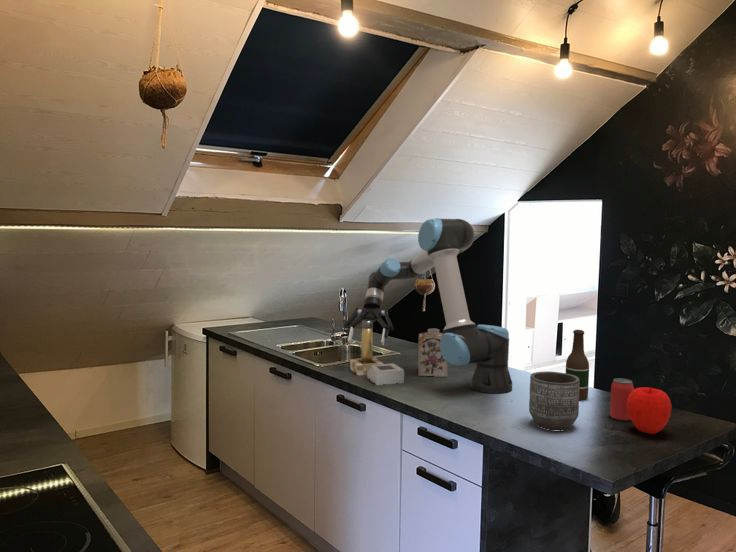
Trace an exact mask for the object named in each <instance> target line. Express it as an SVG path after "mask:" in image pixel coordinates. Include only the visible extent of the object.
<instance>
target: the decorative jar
mask: <svg viewBox="0 0 736 552" xmlns="http://www.w3.org/2000/svg"><path fill="white" fill-rule="evenodd" d="M443 335H444V332H440V329H438V328H428V329H427V331H426V332H421V333H418V341H417V342H418V343H417V344H418V348H417V351H418V353H417V355H418V357H417V358H418V360H417V361H418V362H417V363H418V364H417V365H418V366H417V369H418V371H417V373H418V374H417V375H418V377H427V376H434V377H435V378H447V377H448V367H449V366H448V364H449V363H448V361H446V360H445V359H444V357H443V356H442V354H441V351H440V345H439V344H440V342H441V341H440V339H441V337H442V336H443Z"/></svg>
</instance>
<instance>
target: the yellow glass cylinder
mask: <svg viewBox="0 0 736 552" xmlns="http://www.w3.org/2000/svg"><path fill="white" fill-rule="evenodd" d="M373 322H374V320H367V319H366V320H362V322H361V359H362V364H368V363H372V358H373V335H374V334H373V329H374V326H373V325H374V323H373Z"/></svg>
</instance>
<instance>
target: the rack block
mask: <svg viewBox="0 0 736 552" xmlns="http://www.w3.org/2000/svg"><path fill="white" fill-rule="evenodd" d="M379 364H385V363H384V362H382V361H380V360H379V359H378V358H376V357H372V363H368V364H362V358H353V359H349V369H350V371H352V372H353V373H354V372H355V373H356V374H355V373H354V374H355V375H357V376H367V365H379Z"/></svg>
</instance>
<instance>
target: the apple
mask: <svg viewBox="0 0 736 552" xmlns="http://www.w3.org/2000/svg"><path fill="white" fill-rule="evenodd" d="M626 406H627V411H628V414H629V417H630V419H631V420H630V421H631V422H632V424H633V426H634V427H635V428H636V429H637V431H639V432H641V433H646V434H650V435H655V434H657V433H659V432H661V431H662V430H663V429H664V428H665V426H666V425H667V423H668V422H669V420H670V417H671V413H672V403H671V399H670V397H669V396H668V394H667V393H666V392H665V391H663V390H661V389H658V388H653V387H645V386H644V387H643V386H642V387H636V388H634V390H632V392H631V393H630V394H629V396H628V399H627V404H626Z"/></svg>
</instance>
